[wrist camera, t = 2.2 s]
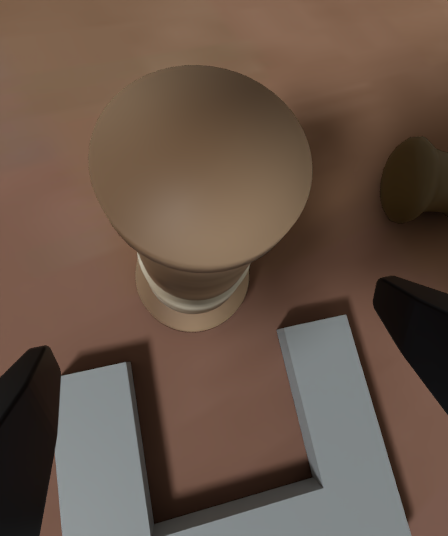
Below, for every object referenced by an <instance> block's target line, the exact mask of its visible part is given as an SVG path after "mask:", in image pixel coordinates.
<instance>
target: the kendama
mask: <svg viewBox="0 0 448 536" xmlns="http://www.w3.org/2000/svg"><path fill="white" fill-rule="evenodd" d="M380 198H381V203H382V208H383V210H384V212H385V213H386V215H387V217H388V218H389V220H391V221H393V222H396V223H405V222H408V221H411V220H413V219H415V218H417V217H418V216H419V215H420V214H421V213H422V212H428V211H434V212H442V213H444V214H445V215H446V216H447V217H448V153H447V152H443V151H440V150H438V149H435V147H434V146H433V145H432V144H431V143H430V142H429V141H428V140H427V138H425V137H409V138H408V139H407V140H405V141H404V142H402V143H401V144H400V145H398V146H397V147H396V148H395V150H394V151H393V152H392V154H391V155H390V156H389V158H388V160H387V163H386V165H385V167H384V169H383V174H382V178H381V183H380Z"/></svg>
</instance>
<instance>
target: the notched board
mask: <svg viewBox="0 0 448 536" xmlns="http://www.w3.org/2000/svg"><path fill="white" fill-rule="evenodd" d="M277 334H278V338H279V342H280V346H281V350H282V354H283V358H284V363H285V367H286V371H287V375H288V379H289V383H290V387H291V391H292V395H293V399H294V403H295V407H296V412H297V416H298V420H299V424H300V428H301V432H302V436H303V440H304V444H305V448H306V452H307V456H308V460H309V465H310V469H311V473H312V477H313V478H309V479H306V480H302V481H299V482H296V483H292V484H289V485H285V486H282V487H279V488H275V489H272V490H268V491H265V492H262V493H258V494H255V495H251V496H248V497H245V498H241V499H238V500H234V501H231V502H228V503H224V504H221V505H217V506H214V507H211V508H207V509H204V510H200V511H197V512H194V513H190V514H187V515H183V516H180V517H177V518H173V519H170V520H166V521H163V522H160V523H156V524H154V520H153V513H152V506H151V499H150V492H149V485H148V478H147V472H146V465H145V458H144V451H143V444H142V437H141V430H140V423H139V416H138V409H137V402H136V395H135V389H134V382H133V375H132V368H131V361H130V362H124V363H119V364H114V365H110V366H105V367H101V368H96V369H91V370H87V371H82V372H77V373H73V374H68V375H64V376H61V387H60V403H59V420H58V433H57V440H56V447H55V459H56V470H57V481H58V492H59V503H60V515H61V526H62V536H411V533H410V529H409V526H408V523H407V519H406V516H405V512H404V509H403V506H402V502H401V499H400V495H399V492H398V489H397V485H396V482H395V478H394V475H393V472H392V468H391V465H390V462H389V458H388V455H387V451H386V448H385V445H384V441H383V438H382V434H381V431H380V428H379V424H378V421H377V417H376V414H375V411H374V407H373V404H372V400H371V397H370V394H369V390H368V387H367V383H366V380H365V377H364V373H363V370H362V366H361V363H360V360H359V356H358V353H357V350H356V346H355V343H354V339H353V336H352V333H351V329H350V326H349V322H348V319H347V316H346V315H341V316H336V317H332V318H327V319H322V320H318V321H313V322H309V323H304V324H299V325H295V326H290V327H285V328H281V329H278V330H277Z"/></svg>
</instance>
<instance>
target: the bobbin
mask: <svg viewBox="0 0 448 536" xmlns="http://www.w3.org/2000/svg"><path fill="white" fill-rule="evenodd" d="M88 163H89V174H90V179H91V184H92V187H93V189H94V192H95V195H96V198H97V199H98V201H99V203H100V205H101V207H102V209H103V211H104V212H105V214H106V216H107V218H108V219H109V221H110V223H111V225H112V226H113V227H114V229H115V230H116V231H117V233H118V234H119V235H120V236H121V237H122V238H123V239H124V241H125V242H126V243H127V244H128V245H129V246H131V247H132V248H133V249H135V250H136V251H137V254H138V260H137V265H136V272H135V279H136V286H137V291H138V294H139V296H140V299H141V300H142V302H143V304H144V306H145V307H146V308H147V310H148V311H149V312H150V313H151V314H152V315H153V316H154V318H155V319H157V320H158V321H159V322H161V323H162V324H164V325H165V326H167V327H170V328H172V329H174V330H178V331H182V332H201V331H206V330H210V329H212V328H214V327H217V326H218V325H220V324H222V323H223V322H225V321H226V320H227V319H228V318H230V317H231V316H232V315H233V314H234V313H235V312H236V311H237V309H238V308H239V307H240V305H241V303H242V302H243V300H244V298H245V295H246V293H247V289H248V284H249V267H250V263H251V262H253V261H255V260H257V259H259V258H260V257H262V256H263V255H265V254H266V253H267V252H269V251H270V250H271V249H272V248H273V247H274V246H275V245H276V244H277V243H278V242H279V241H280V240H281V239H282V238H283V237H284V236H285V234H286V233H287V232H288V231H289V230H290V228H291V227H292V226H293V224H294V223H295V222H296V220H297V219H298V218H299V216H300V214H301V212H302V210H303V209H304V207H305V204H306V202H307V199H308V196H309V193H310V188H311V183H312V170H313V169H312V157H311V152H310V148H309V144H308V141H307V138H306V135H305V133H304V131H303V129H302V127H301V125H300V123H299V121H298V120H297V118H296V117H295V115H294V114H293V113H292V111H291V110H290V109H289V108H288V107H287V105H286V104H285V103H284V102H283V101H282V100H281V99H280V98H279V97H278V96H276V95H275V94H274V93H273V92H272V91H270V90H269V89H268V88H266V87H265V86H263V85H262V84H260V83H258V82H257V81H255V80H253V79H251V78H249V77H247V76H244V75H242V74H240V73H237V72H234V71H231V70H227V69H223V68H218V67H213V66H203V65H184V66H177V67H170V68H166V69H162V70H158V71H156V72H153V73H150V74H148V75H145V76H143V77H141V78H139V79H138V80H136V81H134V82H132V83H131V84H129V85H128V86H127V87H125V88H124V89H123V90H121V91H120V92H119V93H118V94H117V95H116V96H115V97H114V98H113V99H112V100H111V101H110V102H109V104H108V105H107V106H106V107H105V109H104V110H103V112H102V113H101V115H100V117H99V118H98V120H97V123H96V125H95V127H94V130H93V133H92V136H91V140H90V145H89V154H88Z"/></svg>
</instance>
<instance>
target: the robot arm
mask: <svg viewBox="0 0 448 536" xmlns="http://www.w3.org/2000/svg"><path fill="white" fill-rule="evenodd" d="M373 306H374V309H375V311H376V312H377V314H378V316H379V317H380V319H381V321H382V322H383V324H384V326H385V327H386V329H387V331H388V332H389V334H390V336H391V337H392V339H393V340H394V342H395V344H396V345H397V347H398V349H399V350H400V352H401V353H402V354H403V356H404V357H405V359H406V360H407V361H408V363H409V364H410V365H411V367H412V368H413V369H414V371H415V372H416V373H417V375H418V376H419V377H420V379H421V380H422V381H423V383H424V384H425V385H426V387H427V388H428V389H429V391H430V392H431V393H432V395H433V396H434V397H435V399H436V400H437V401H438V403H439V404H440V405H441V407H442V408H443V409H444V411H445V412H446V413H447V415H448V294H447V293H444V292H441V291H438V290H435V289H432V288H429V287H426V286H423V285H420V284H417V283H414V282H411V281H408V280H405V279H402V278H399V277H396V276H387V277H382V278H380V279H378V281H377V283H376V288H375V293H374V298H373ZM60 387H61V371H60V368H59V365H58V363H57V361H56V359H55V357H54V355H53V353H52V351H51V349H50V347H49V346H46V345H44V346H39V347H34V348H31V349H29V350H28V351H26V352H25V353H24V354H23V355H22V356H21V357H20V358H19V359H18V360H17V361H16V362H15V363H14V364H13V365H12V366H11V367H10V368H9V369H8V370H7V371H6V372H5V373H4V374H3V375H2V376H1V377H0V536H39V535H40V530H41V524H42V519H43V513H44V508H45V502H46V497H47V491H48V486H49V480H50V474H51V469H52V463H53V458H54V452H55V447H56V440H57V433H58V420H59V403H60Z"/></svg>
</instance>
